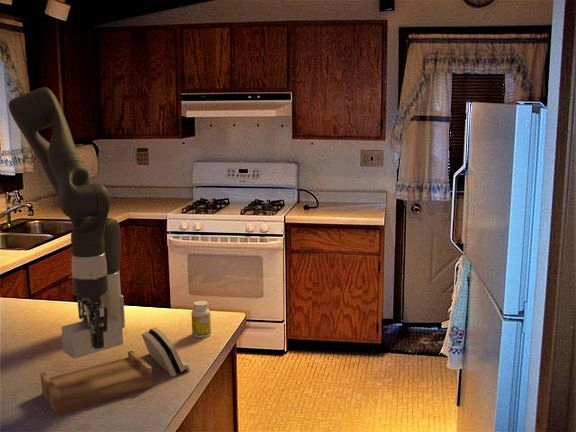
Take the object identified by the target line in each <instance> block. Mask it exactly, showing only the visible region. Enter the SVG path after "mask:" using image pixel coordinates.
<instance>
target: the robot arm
mask: <svg viewBox="0 0 576 432" xmlns="http://www.w3.org/2000/svg"><path fill="white" fill-rule="evenodd" d="M8 109H9V112H10V115H11V116H12V119H13V121H14V122H15V124H16V126H17V127H18V129H19V130H20V132H21V134H22V135H23V137H24V138H25V140H26V142H27V143H28V145H29V146H30V147H31V149H32V150H33V152H34V154H35V155H36V157H37V160H38V161H39V163H40V165H41V167H42V169H43V171H44V172H45V176H46V177H47V178H48V182H50V184H51V186H52V188H53V190H54V192H55V193H56V195H57V196H58V198H59V205H60V210H61V212H62V213H63V214H64V216H66V217H67V218H69V220H70V222H71V225H72V227H73V230H72V231H71V233H70V242H71V244H70V245H71V246H70V247H71V277H72V292H73V295H74V296H76V301H77V310H78V318H79V320H81V321H85V320H88V323H89V324H91V327H92V332H93V347H94V348H95V349H99V348H103V347H104V337H103V332H106V331H107V315H108V314H111V315H113V316H115V317H117V318H119V319H121V320H122V328H124V327H126V322H125V321H126V320H125V318H126V317H125V302H124V295H123V294H122V291H121V276H120V275H121V273H120V263H121V258H122V257H121V255H122V254H121V252H122V251H121V248H122V247H121V244H122V243H121V242H122V239H121V238H122V235H121V227H120V224H119V221H118V220H117V219H115V218H113V217H109V216H108V215H109V213H110V212H109V211H110V208H111V196H110V192H109V191H108V189H107V188H106V185H105V186H104V184H101V183H93V184H90V178H89V177H90V176H89V174H90V173H89V171H88V168H87V167H86V165H85V163H84V160H82V158H81V156H80V153H79V151H78V149H77V147H76V145H75V142H74V139H73V136H72V132H71V130H70V126H69V124H68V121H67V119H66V116H65V114H64V112H63V108H62V106H61V104H60V102H59V101H58V98H57V97H56V95H55V93H53V91H52V90H51V89H50V88H49V87H46V86H43V87H39V88H36V89H34V90H31V91H28V92H26V93H24V94H21V95H18V96H16V97H14V98H11V99H10V100H9V102H8ZM51 126H53V128H52V135H51V138H50V142H49V141H47V139H45V138H44V137H43V136H42V135H41V134H40V133H39V131H43V130H45V129H46V128H49V127H51ZM94 318H95V319H94ZM99 324H100V327H99Z"/></svg>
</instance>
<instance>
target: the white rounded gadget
mask: <svg viewBox="0 0 576 432" xmlns="http://www.w3.org/2000/svg"><path fill="white" fill-rule="evenodd" d="M141 337H142V340H143V341H144V345H145V346H146V348H147V351H148V353H149V355H150V354H151V355H150V356H151V357H152V358H153V359H154V360H155V361H156V362H157V363H158V364H159V365H160V366H161V367H162V368H163V369H164V370H165V371H166V373H168V374H169V375H170V376H171V377H175V376H177V375H178V372H181V373H182V372H183V371H185V370H186V371H187V372H188V373H190V372H191V368H190V367H189V365H188V364H187V363H186V362H185V361H183V359H181V357H180V356H179V353H178V351H177V349H176V346H175V345H174V343H172V341H171V340H170V339H169V338H168V337H167V335H166V334H164V332H163V331H161V330H160V329H159V328H157V327H152V328H150V329H149V330H148V331H144V332H143V333H142V334H141Z"/></svg>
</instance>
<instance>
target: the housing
mask: <svg viewBox="0 0 576 432" xmlns="http://www.w3.org/2000/svg"><path fill="white" fill-rule="evenodd" d="M94 319H95V318H94ZM99 327H100V324H99ZM123 332H124V331H123V327H122V320H121V319H119V318H117V317H115V316H113V315H111V314H108V315H107V331H106V332H103V337H104V347H103V348H99V349H95V348H94V347H93V332H92V327H91V324H89V323H88V320H85V321H82V320H81V321H78V322H73V323H71V324H66V325H62V326H61V339H62V352H63V353H65V354H66V355H68V356H69V357H70V358H72V359H74V360H76V359H79V358H82V357H85V356H89V355H92V354H95V353H99V352H102V351H105V350H109V349H112V348H115V347H118V346H122V345H124V334H123Z"/></svg>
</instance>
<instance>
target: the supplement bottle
mask: <svg viewBox="0 0 576 432" xmlns="http://www.w3.org/2000/svg"><path fill="white" fill-rule="evenodd" d="M208 306H209V303H208V301H206V300H197V301H194V302H193V310H192V311H191V334H192V337H194V338H199V339H204V338H207V337H209V336H210V335H211V333H212V326H211V325H212V322H211V321H212V320H211V310H210V309H209V307H208Z"/></svg>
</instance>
